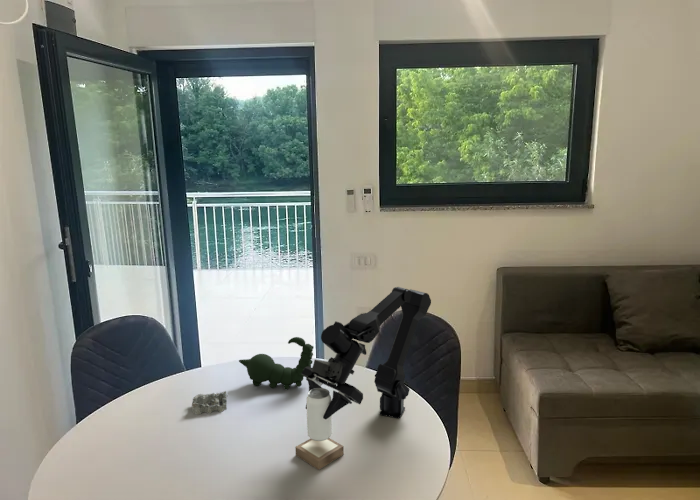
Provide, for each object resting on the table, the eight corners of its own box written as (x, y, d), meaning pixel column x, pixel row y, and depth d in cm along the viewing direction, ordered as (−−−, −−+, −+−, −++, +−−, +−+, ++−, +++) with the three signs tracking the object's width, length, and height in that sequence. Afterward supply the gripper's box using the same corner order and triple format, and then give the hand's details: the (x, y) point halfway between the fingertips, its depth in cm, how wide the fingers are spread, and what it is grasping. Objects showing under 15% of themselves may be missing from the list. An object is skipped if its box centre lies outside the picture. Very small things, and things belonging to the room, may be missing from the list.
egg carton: (191, 416, 155) (190, 404, 154) (194, 404, 162) (193, 392, 161) (226, 412, 156) (226, 400, 156) (228, 400, 164) (227, 389, 163)
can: (334, 440, 131) (333, 397, 129) (309, 443, 130) (307, 400, 127) (330, 426, 137) (329, 385, 135) (306, 429, 136) (304, 388, 134)
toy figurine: (311, 384, 178) (241, 376, 179) (315, 333, 174) (243, 326, 175) (307, 397, 169) (233, 389, 170) (312, 344, 165) (236, 336, 166)
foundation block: (320, 441, 141) (320, 432, 140) (343, 454, 135) (343, 445, 134) (295, 455, 135) (295, 446, 134) (318, 469, 129) (318, 460, 128)
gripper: (305, 338, 138) (274, 389, 132) (355, 357, 125) (323, 415, 120) (326, 356, 145) (298, 405, 140) (376, 376, 132) (347, 431, 127)
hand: (315, 414), depth 131 cm, fingers closed on can, 6 cm apart
